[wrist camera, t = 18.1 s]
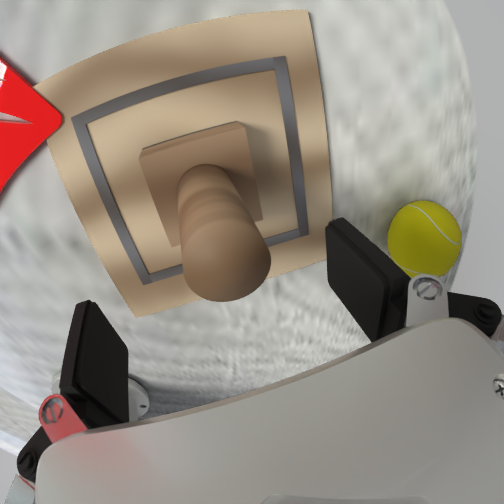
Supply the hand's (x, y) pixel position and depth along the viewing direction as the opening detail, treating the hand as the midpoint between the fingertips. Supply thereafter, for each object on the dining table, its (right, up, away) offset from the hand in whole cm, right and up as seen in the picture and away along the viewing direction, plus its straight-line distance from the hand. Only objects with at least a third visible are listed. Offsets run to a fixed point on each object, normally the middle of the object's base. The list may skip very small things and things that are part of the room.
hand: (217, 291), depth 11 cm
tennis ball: (+16, +5, +15) cm, 22 cm away
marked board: (-2, +6, +8) cm, 11 cm away
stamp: (-2, +6, +8) cm, 10 cm away
